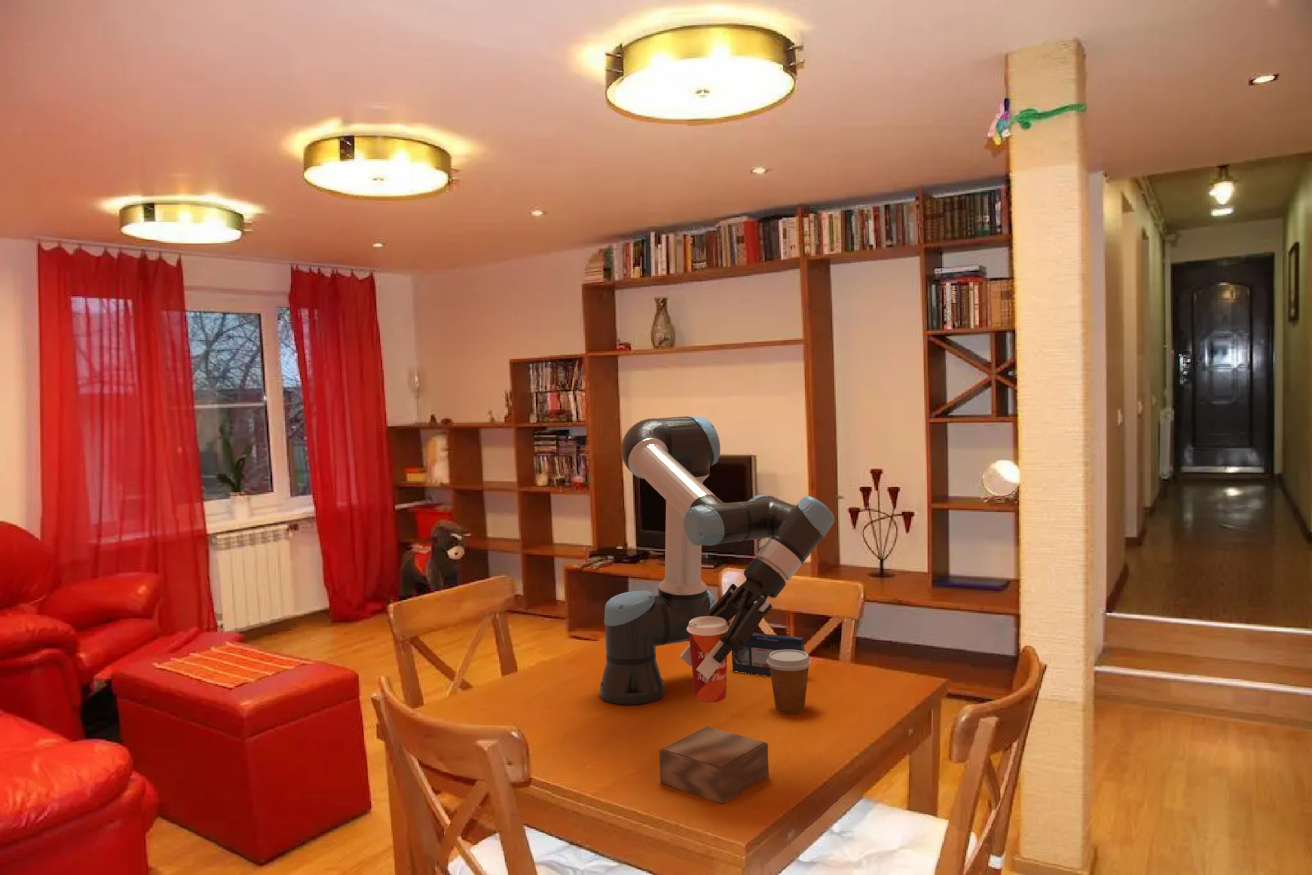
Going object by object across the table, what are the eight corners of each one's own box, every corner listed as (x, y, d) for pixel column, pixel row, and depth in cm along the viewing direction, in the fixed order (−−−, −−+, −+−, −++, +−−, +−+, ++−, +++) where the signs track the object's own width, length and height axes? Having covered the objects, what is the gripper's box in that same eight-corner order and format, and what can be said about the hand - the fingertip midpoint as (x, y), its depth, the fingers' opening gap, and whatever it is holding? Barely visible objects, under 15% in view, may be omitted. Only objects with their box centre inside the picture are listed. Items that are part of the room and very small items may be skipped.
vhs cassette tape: (731, 672, 223) (730, 632, 222) (736, 668, 225) (735, 629, 225) (801, 681, 214) (800, 640, 213) (806, 677, 216) (804, 637, 216)
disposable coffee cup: (811, 717, 190) (810, 662, 189) (766, 715, 192) (765, 661, 191) (812, 702, 199) (811, 649, 199) (769, 700, 201) (768, 648, 200)
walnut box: (660, 782, 161) (659, 748, 161) (707, 756, 171) (706, 725, 171) (722, 804, 152) (721, 768, 151) (768, 775, 162) (767, 741, 162)
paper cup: (703, 708, 156) (700, 631, 155) (681, 694, 163) (678, 619, 162) (740, 698, 160) (737, 622, 159) (718, 685, 167) (715, 612, 165)
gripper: (812, 593, 155) (730, 697, 151) (760, 572, 175) (686, 664, 170) (783, 566, 154) (700, 671, 149) (734, 548, 173) (659, 640, 168)
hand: (693, 667), depth 160 cm, fingers closed on paper cup, 8 cm apart
